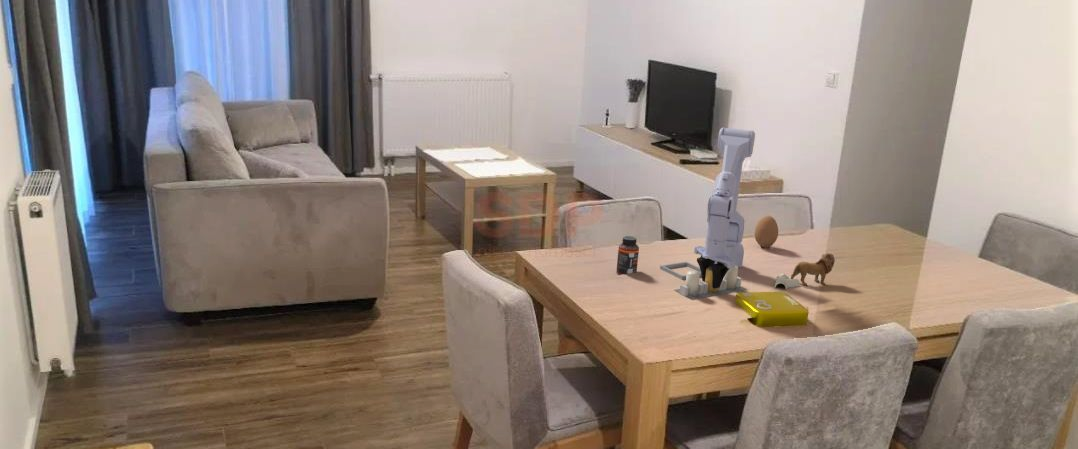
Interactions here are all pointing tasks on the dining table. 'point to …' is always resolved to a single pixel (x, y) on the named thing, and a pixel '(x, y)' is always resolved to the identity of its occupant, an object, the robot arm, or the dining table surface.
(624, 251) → the supplement bottle
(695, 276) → the cream fuse
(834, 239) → the dining table surface
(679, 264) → the grey tray
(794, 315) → the element tile
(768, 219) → the egg
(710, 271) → the cylinder
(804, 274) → the lion figurine
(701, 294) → the fuse block
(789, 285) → the pipe fitting
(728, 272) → the cream fuse
